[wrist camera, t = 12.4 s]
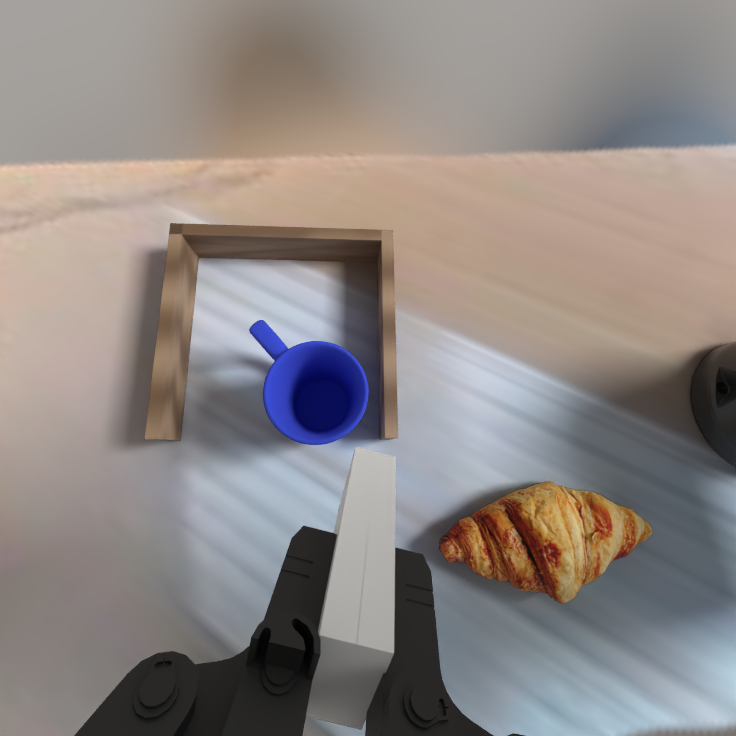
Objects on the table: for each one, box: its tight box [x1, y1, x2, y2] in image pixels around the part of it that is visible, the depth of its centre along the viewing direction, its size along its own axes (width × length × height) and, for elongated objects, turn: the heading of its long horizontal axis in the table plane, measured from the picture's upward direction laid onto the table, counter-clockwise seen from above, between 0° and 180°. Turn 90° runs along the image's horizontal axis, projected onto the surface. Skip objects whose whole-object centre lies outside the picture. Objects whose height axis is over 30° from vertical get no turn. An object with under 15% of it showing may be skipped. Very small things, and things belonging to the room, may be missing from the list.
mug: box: [249, 320, 369, 445], centre depth 34 cm, size 8×12×10 cm
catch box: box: [145, 223, 398, 440], centre depth 38 cm, size 21×22×4 cm
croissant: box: [439, 481, 653, 603], centre depth 35 cm, size 21×10×8 cm, turn 96°
